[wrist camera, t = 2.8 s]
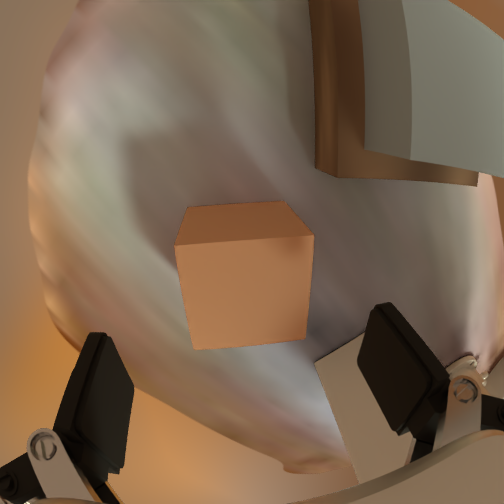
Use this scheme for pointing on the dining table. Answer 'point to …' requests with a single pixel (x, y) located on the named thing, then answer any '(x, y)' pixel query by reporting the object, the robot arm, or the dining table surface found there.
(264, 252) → the orange cube
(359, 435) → the milk carton
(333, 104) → the base block
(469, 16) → the grey square block
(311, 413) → the dining table surface
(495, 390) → the lumpy-topped squat cylinder
